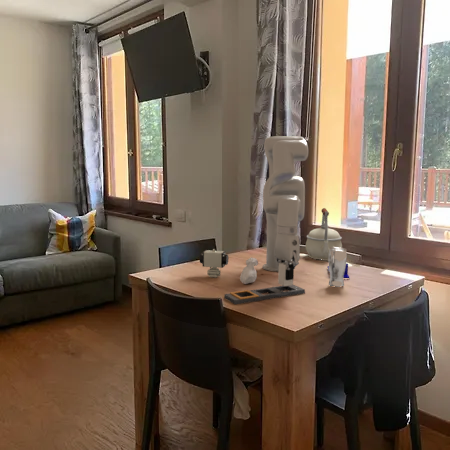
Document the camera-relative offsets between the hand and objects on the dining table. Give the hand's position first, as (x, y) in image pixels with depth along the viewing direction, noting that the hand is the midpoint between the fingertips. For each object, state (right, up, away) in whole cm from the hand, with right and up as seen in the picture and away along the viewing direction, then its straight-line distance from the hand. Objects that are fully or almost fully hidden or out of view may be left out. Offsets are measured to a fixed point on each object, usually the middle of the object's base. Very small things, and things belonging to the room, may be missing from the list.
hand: (285, 277), depth 170 cm
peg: (0, -3, 0) cm, 3 cm away
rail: (-8, -6, -3) cm, 11 cm away
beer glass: (+22, -5, +11) cm, 25 cm away
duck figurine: (-13, -4, +15) cm, 21 cm away
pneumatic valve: (-28, -2, +23) cm, 36 cm away
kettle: (+27, +3, +60) cm, 66 cm away
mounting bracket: (+27, -2, +29) cm, 40 cm away
